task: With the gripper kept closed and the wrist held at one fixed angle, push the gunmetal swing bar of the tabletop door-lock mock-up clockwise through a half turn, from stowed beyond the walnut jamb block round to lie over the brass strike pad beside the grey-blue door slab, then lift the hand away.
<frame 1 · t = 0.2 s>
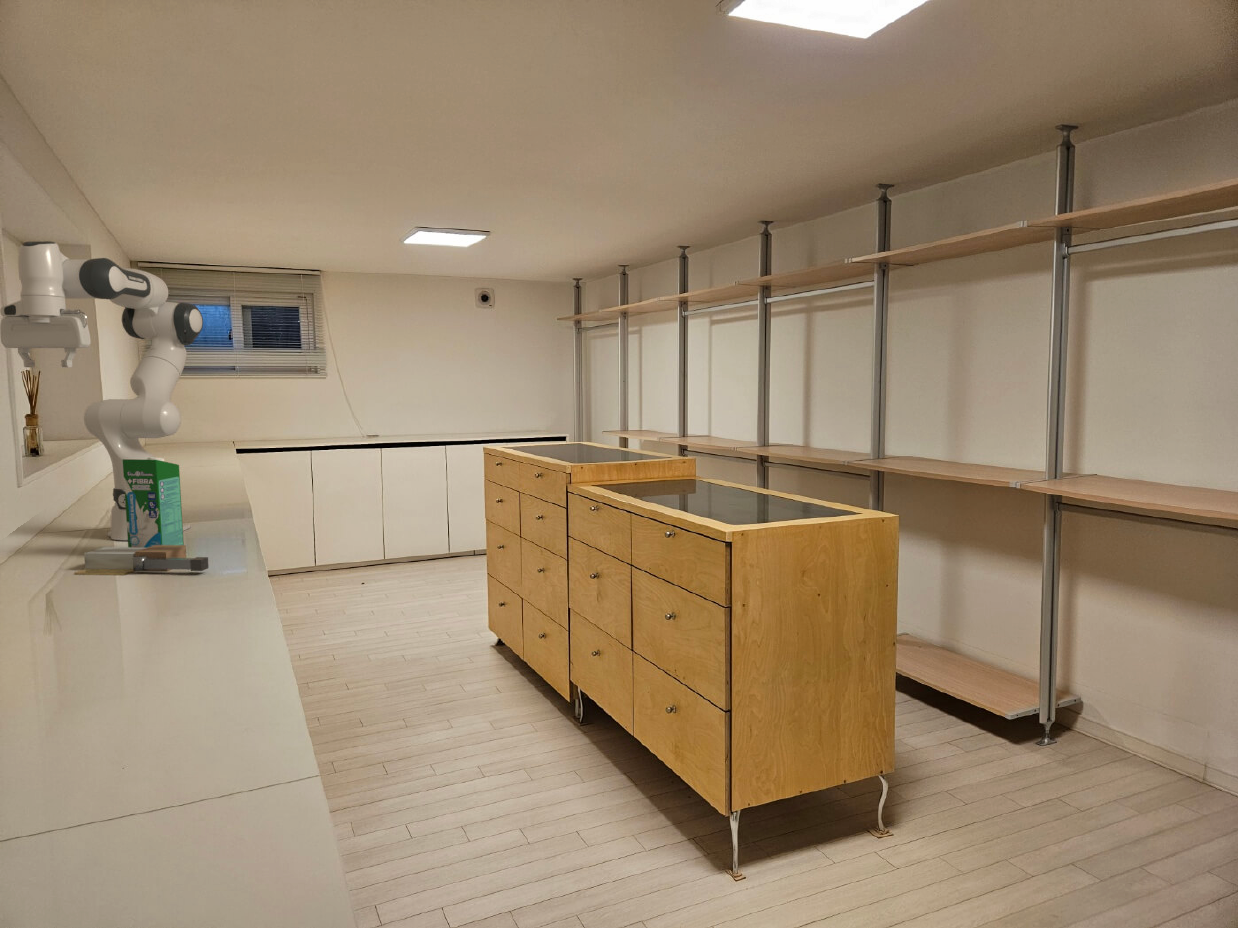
hand: (48, 367, 200), 48 cm above the countertop, fingers open, 8 cm apart
strike pad: (105, 572, 192), on the countertop
swing bar: (169, 563, 191), point 2 cm above the countertop, hinge at 0.0°
door edge: (136, 566, 198), on the countertop
milk carton: (157, 554, 212), on the countertop
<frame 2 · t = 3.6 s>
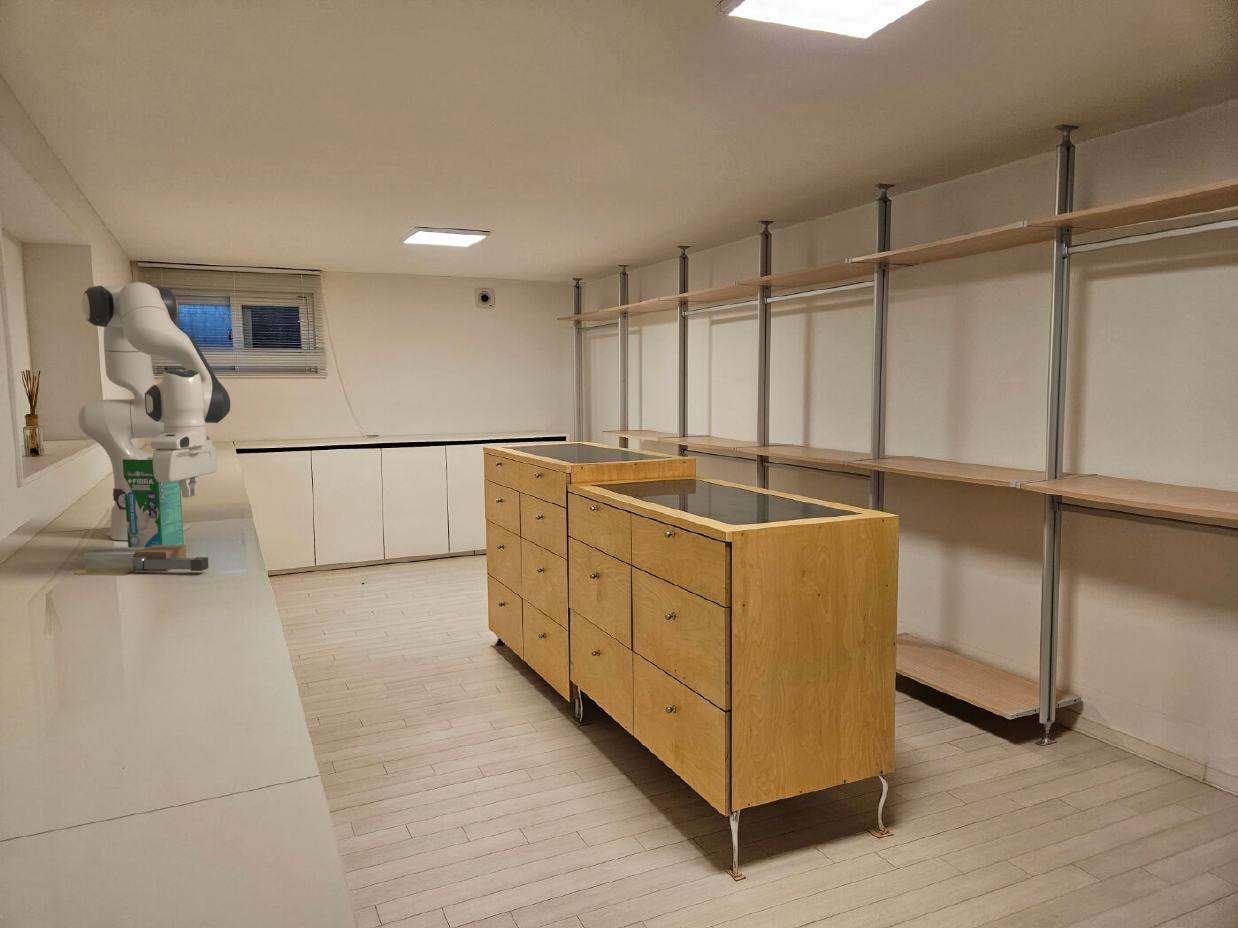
hand: (189, 496, 196), 17 cm above the countertop, fingers closed
nothing on the countertop moved.
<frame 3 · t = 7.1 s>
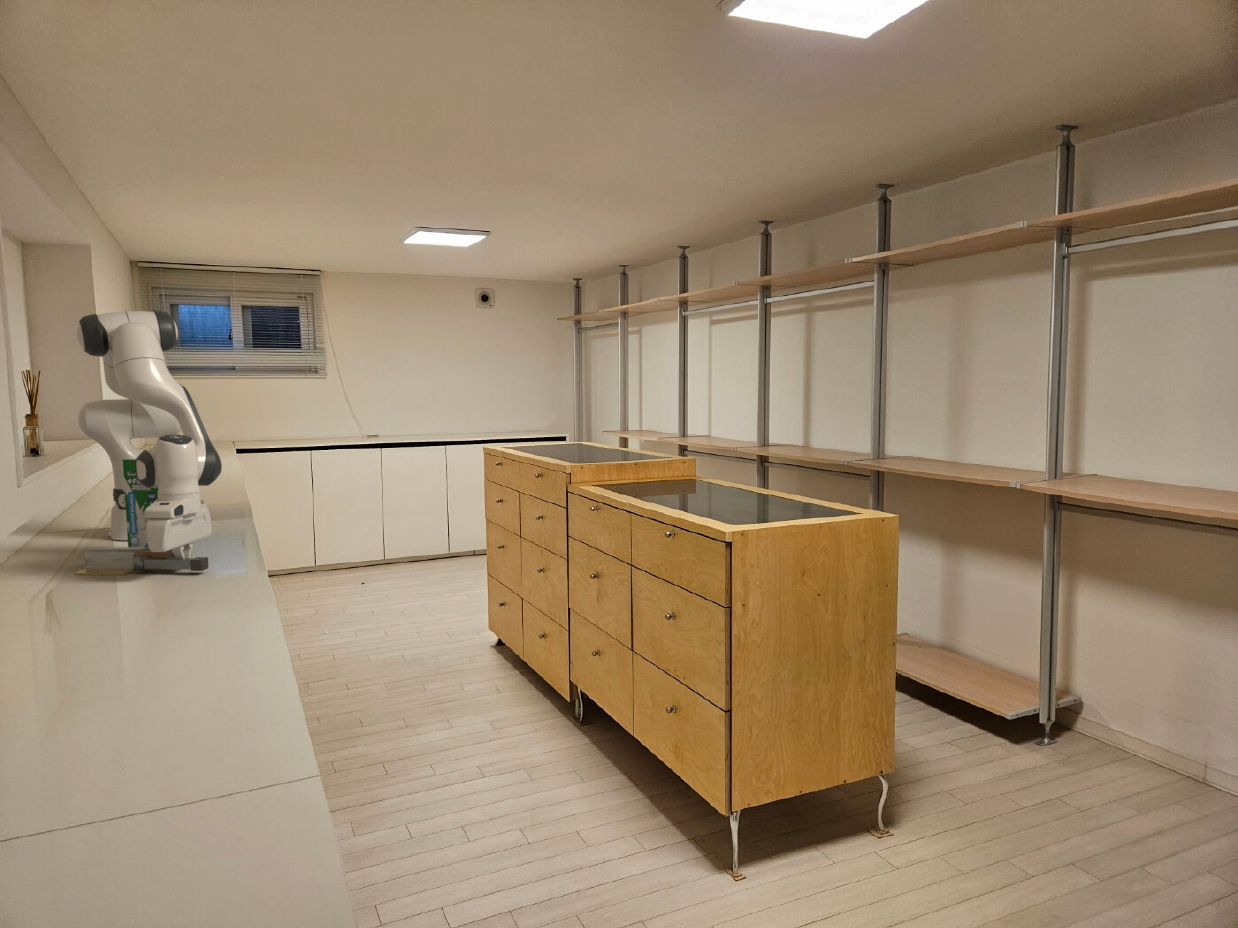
hand: (183, 563, 194), 2 cm above the countertop, fingers closed
swing bar: (169, 563, 191), point 2 cm above the countertop, hinge at 0.1°, touching gripper
everything else where it was.
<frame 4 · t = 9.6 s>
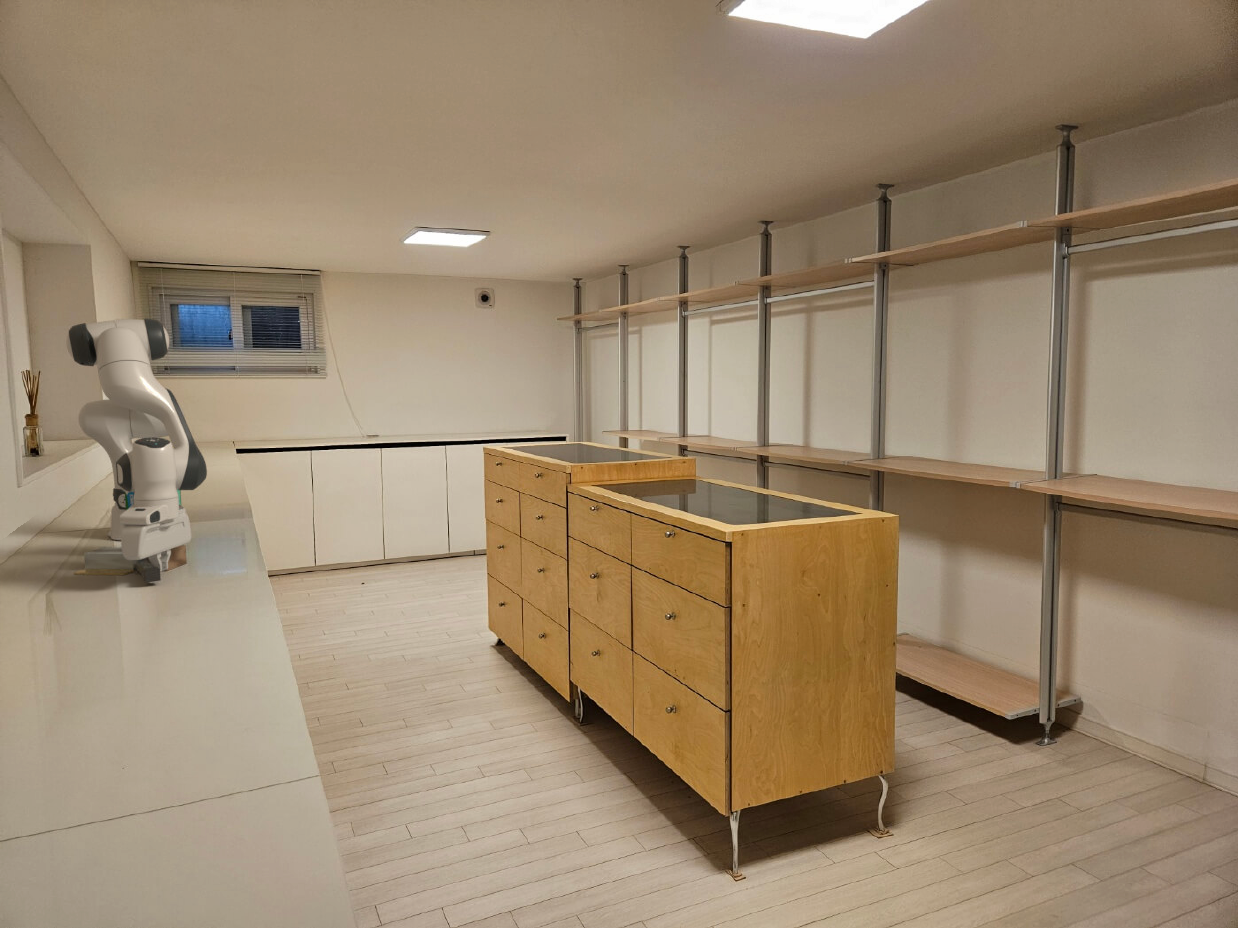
hand: (160, 571, 187), 2 cm above the countertop, fingers closed
swing bar: (145, 568, 186), point 2 cm above the countertop, hinge at 47.6°, touching gripper
everything else where it was.
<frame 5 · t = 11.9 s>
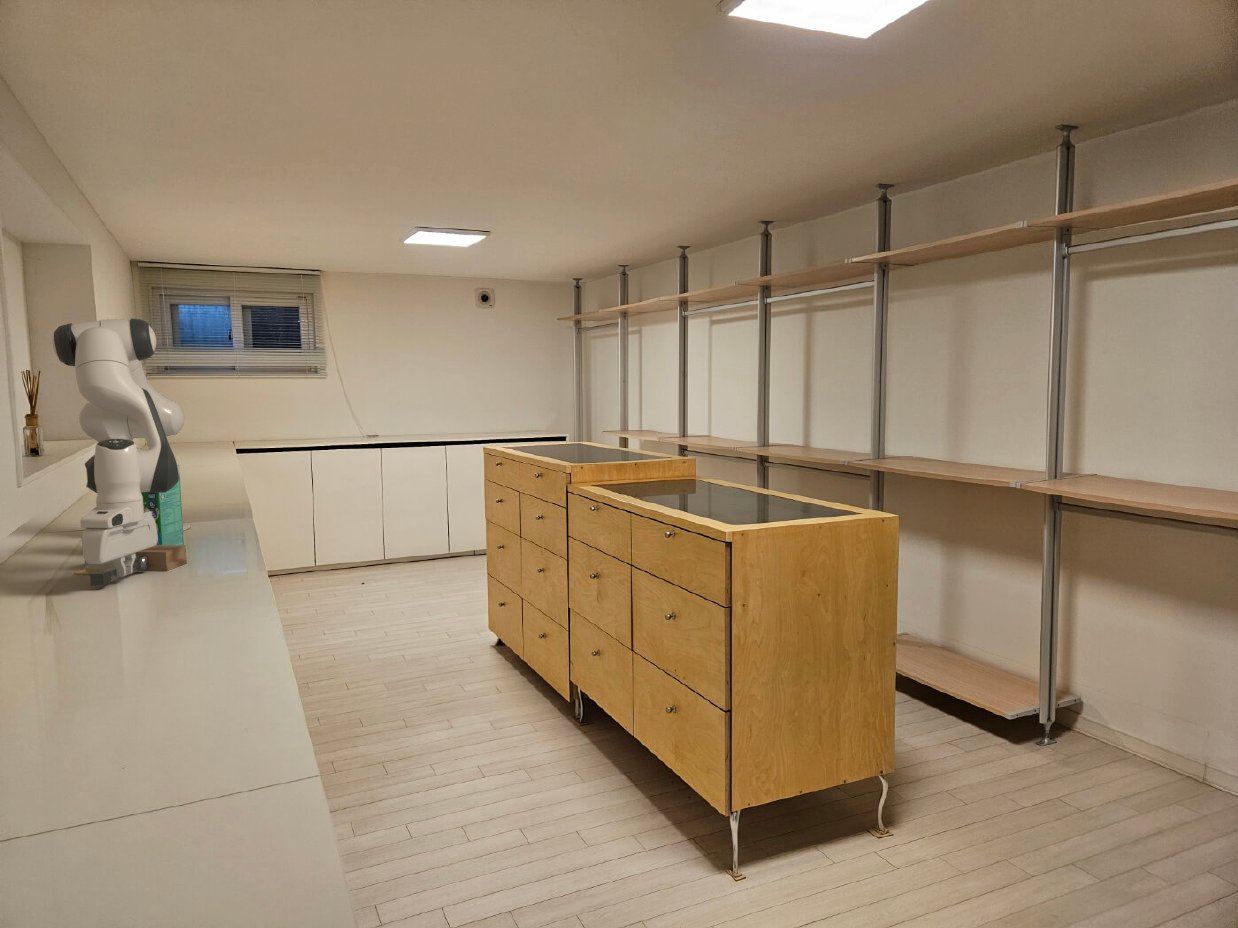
hand: (124, 575, 183), 2 cm above the countertop, fingers closed, pressing on swing bar
swing bar: (121, 570, 185), point 2 cm above the countertop, hinge at 87.7°, touching gripper
everything else where it was.
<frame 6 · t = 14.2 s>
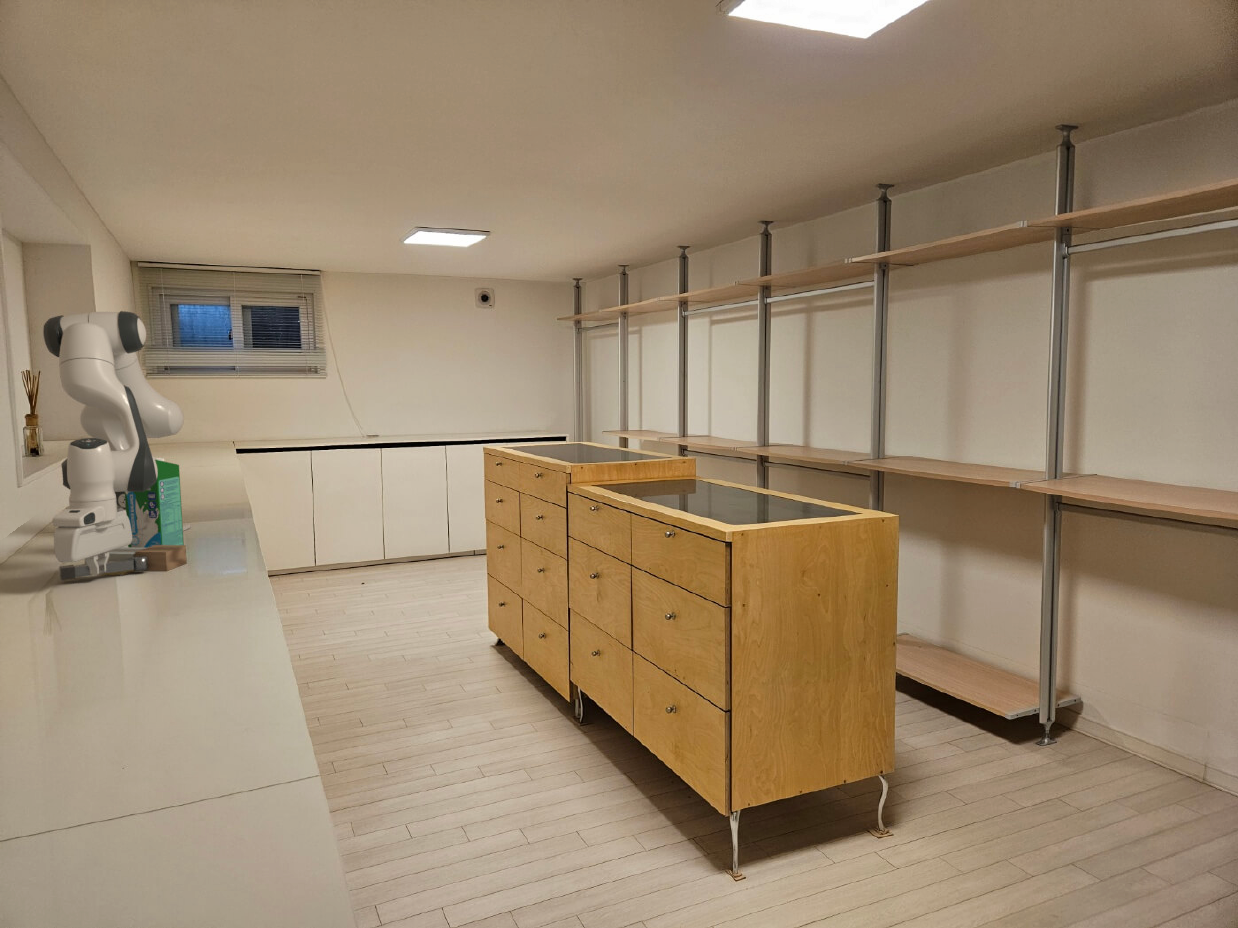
hand: (98, 573, 184), 2 cm above the countertop, fingers closed
swing bar: (105, 567, 187), point 2 cm above the countertop, hinge at 137.3°, touching gripper
everything else where it was.
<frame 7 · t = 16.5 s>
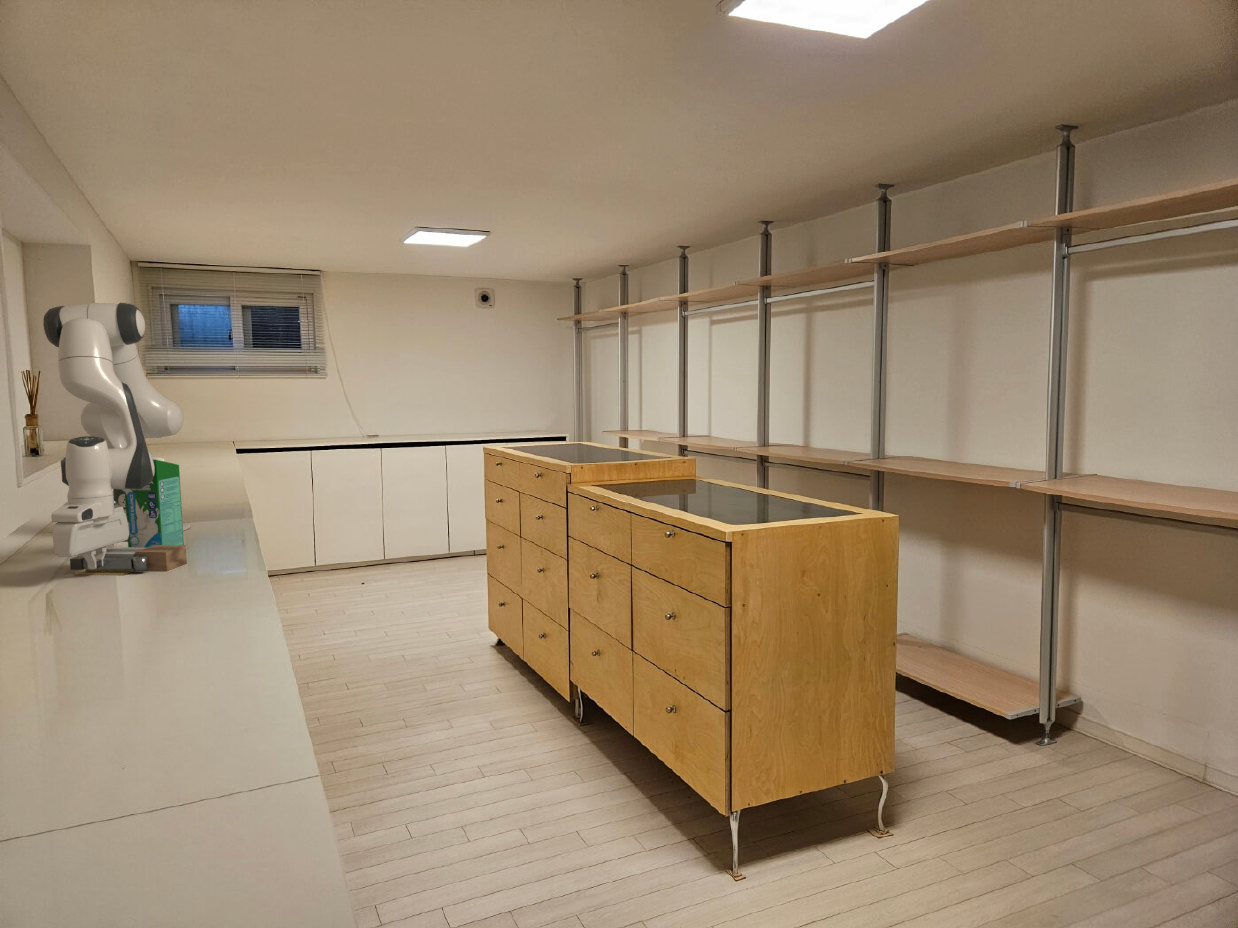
hand: (95, 567, 189), 2 cm above the countertop, fingers closed
swing bar: (110, 563, 192), point 2 cm above the countertop, hinge at 177.1°, touching gripper
everything else where it was.
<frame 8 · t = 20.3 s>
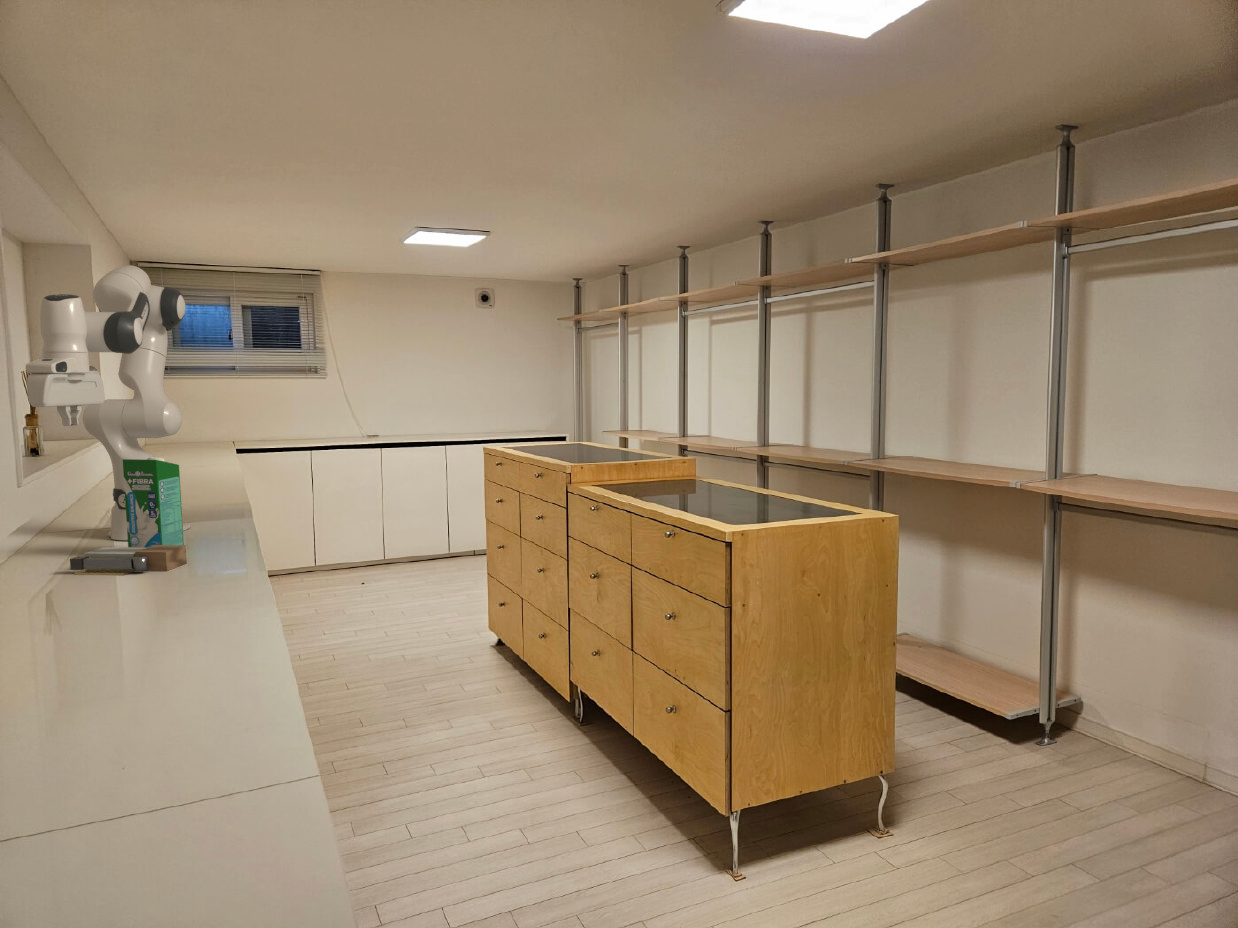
hand: (70, 425, 191), 34 cm above the countertop, fingers closed
swing bar: (110, 563, 192), point 2 cm above the countertop, hinge at 177.1°
everything else where it was.
at the end: swing bar at +177° (first picture: +0°) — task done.
